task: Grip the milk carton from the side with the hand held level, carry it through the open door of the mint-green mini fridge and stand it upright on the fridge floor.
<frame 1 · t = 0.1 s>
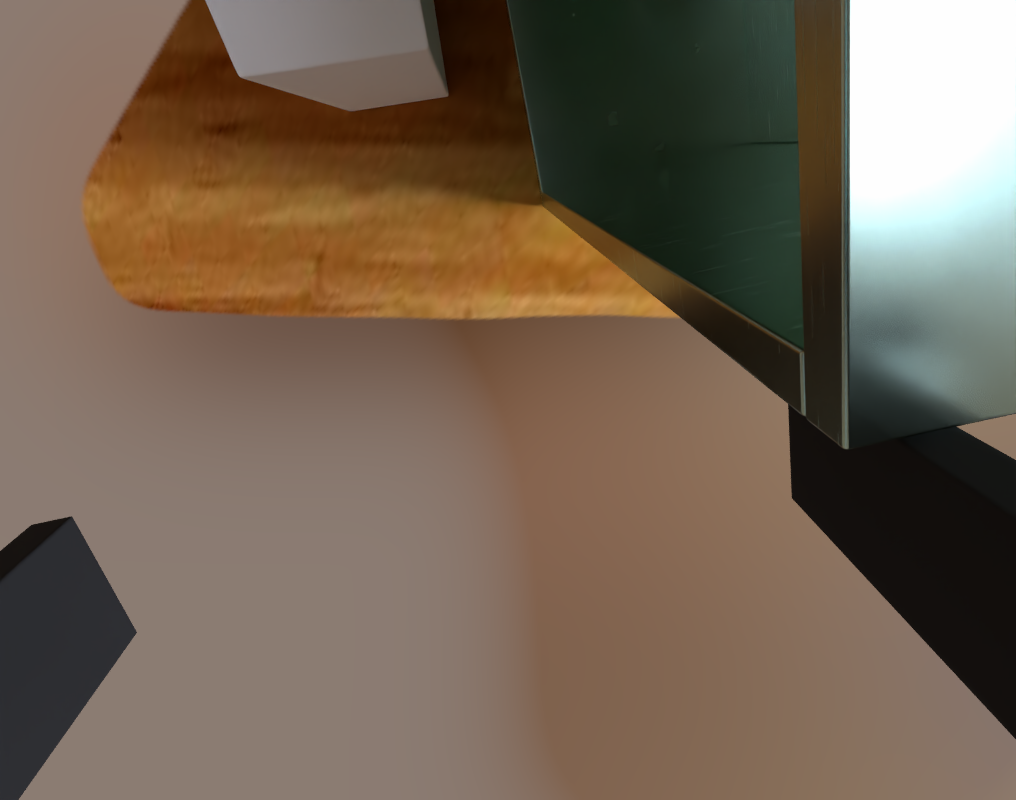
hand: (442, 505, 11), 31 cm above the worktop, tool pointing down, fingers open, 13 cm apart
milk: (389, 47, 35), on the worktop
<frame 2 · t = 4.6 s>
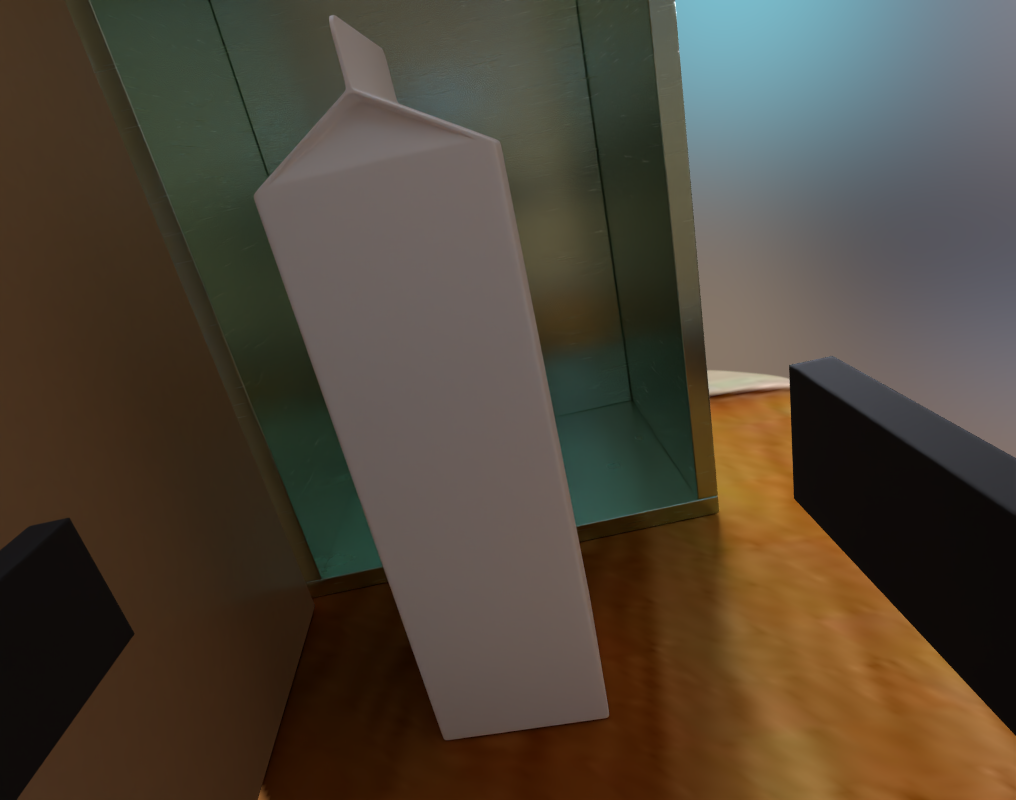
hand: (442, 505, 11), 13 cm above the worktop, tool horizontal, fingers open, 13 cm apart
milk: (525, 668, 24), on the worktop
fridge: (504, 485, 37), on the worktop
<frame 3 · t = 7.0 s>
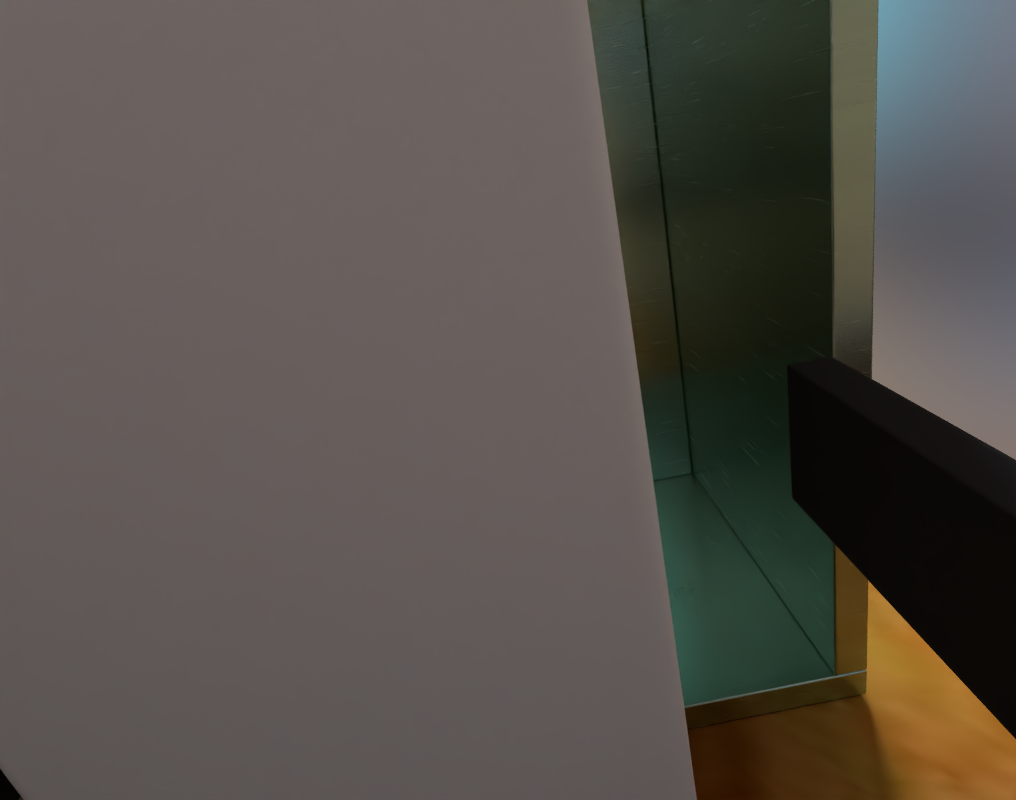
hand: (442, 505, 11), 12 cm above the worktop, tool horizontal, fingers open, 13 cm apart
fridge: (520, 608, 26), on the worktop
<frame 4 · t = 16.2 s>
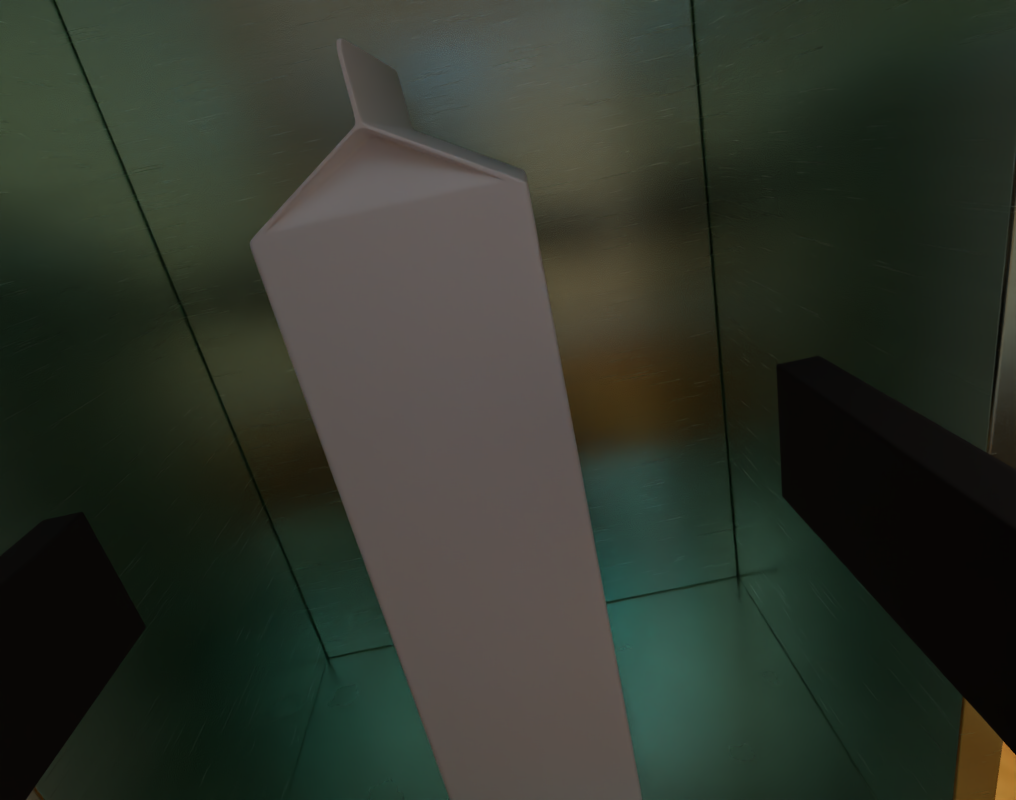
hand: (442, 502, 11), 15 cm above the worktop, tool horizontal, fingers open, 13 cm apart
milk: (547, 738, 22), point 1 cm above the worktop, touching fridge
fridge: (549, 753, 23), on the worktop
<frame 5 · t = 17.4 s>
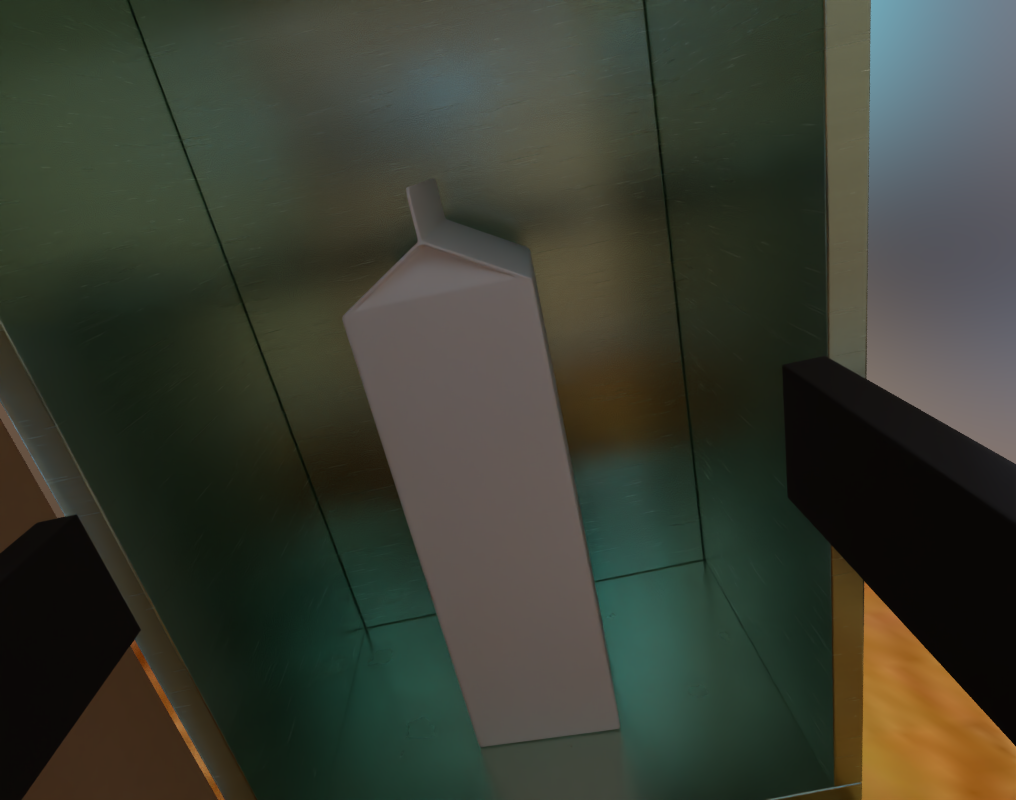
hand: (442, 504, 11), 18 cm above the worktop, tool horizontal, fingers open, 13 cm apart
milk: (547, 684, 28), point 1 cm above the worktop, touching fridge
fridge: (548, 697, 28), on the worktop
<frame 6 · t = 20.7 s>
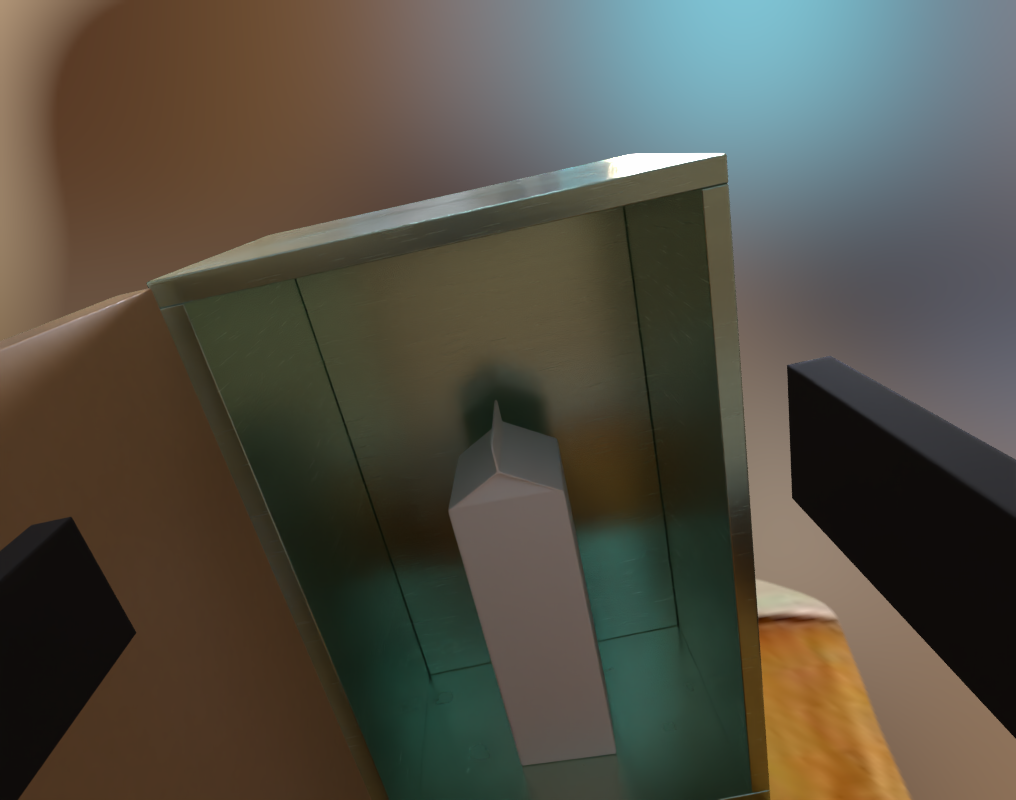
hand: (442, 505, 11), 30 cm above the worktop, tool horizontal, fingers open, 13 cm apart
milk: (566, 721, 40), point 1 cm above the worktop, touching fridge
fridge: (566, 729, 41), on the worktop
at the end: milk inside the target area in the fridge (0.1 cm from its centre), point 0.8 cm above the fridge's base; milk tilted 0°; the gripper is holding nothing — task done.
